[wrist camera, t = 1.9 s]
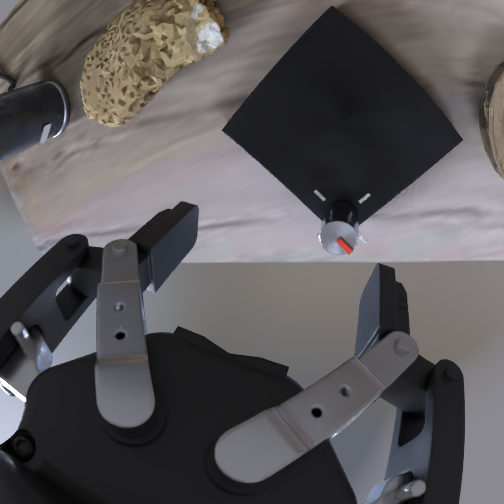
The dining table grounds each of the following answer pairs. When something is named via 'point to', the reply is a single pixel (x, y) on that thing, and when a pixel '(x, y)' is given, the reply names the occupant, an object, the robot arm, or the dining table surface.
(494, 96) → the tan disc
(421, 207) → the dining table surface
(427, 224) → the dining table surface
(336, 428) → the robot arm
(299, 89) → the hob
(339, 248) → the hob knob
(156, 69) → the sponge
